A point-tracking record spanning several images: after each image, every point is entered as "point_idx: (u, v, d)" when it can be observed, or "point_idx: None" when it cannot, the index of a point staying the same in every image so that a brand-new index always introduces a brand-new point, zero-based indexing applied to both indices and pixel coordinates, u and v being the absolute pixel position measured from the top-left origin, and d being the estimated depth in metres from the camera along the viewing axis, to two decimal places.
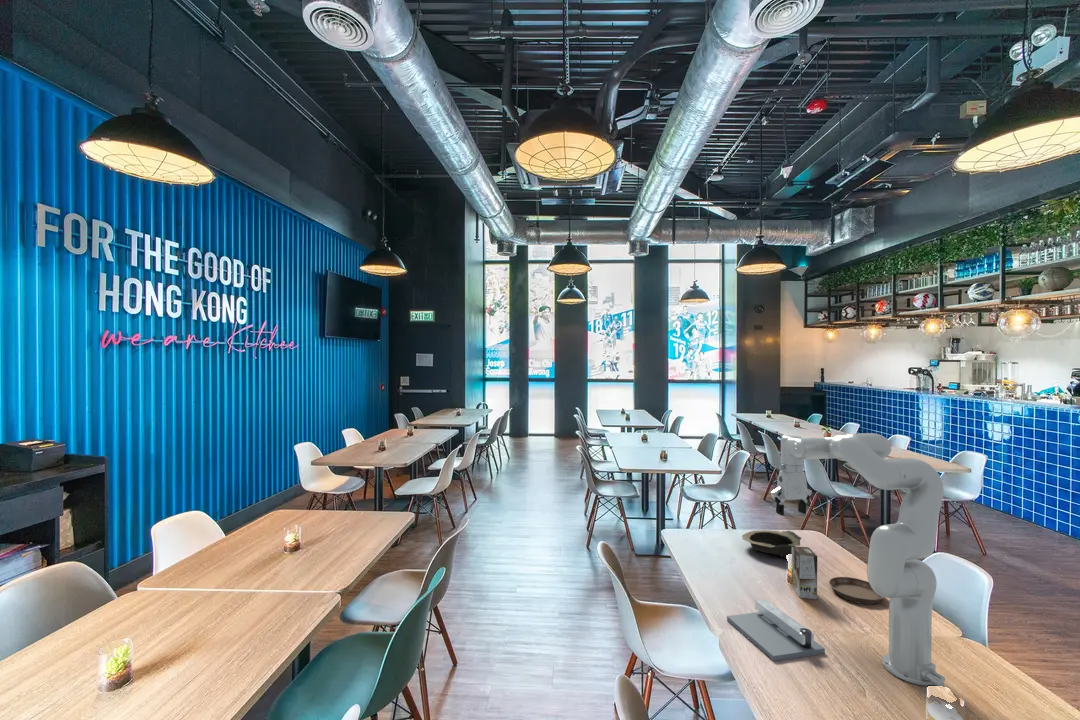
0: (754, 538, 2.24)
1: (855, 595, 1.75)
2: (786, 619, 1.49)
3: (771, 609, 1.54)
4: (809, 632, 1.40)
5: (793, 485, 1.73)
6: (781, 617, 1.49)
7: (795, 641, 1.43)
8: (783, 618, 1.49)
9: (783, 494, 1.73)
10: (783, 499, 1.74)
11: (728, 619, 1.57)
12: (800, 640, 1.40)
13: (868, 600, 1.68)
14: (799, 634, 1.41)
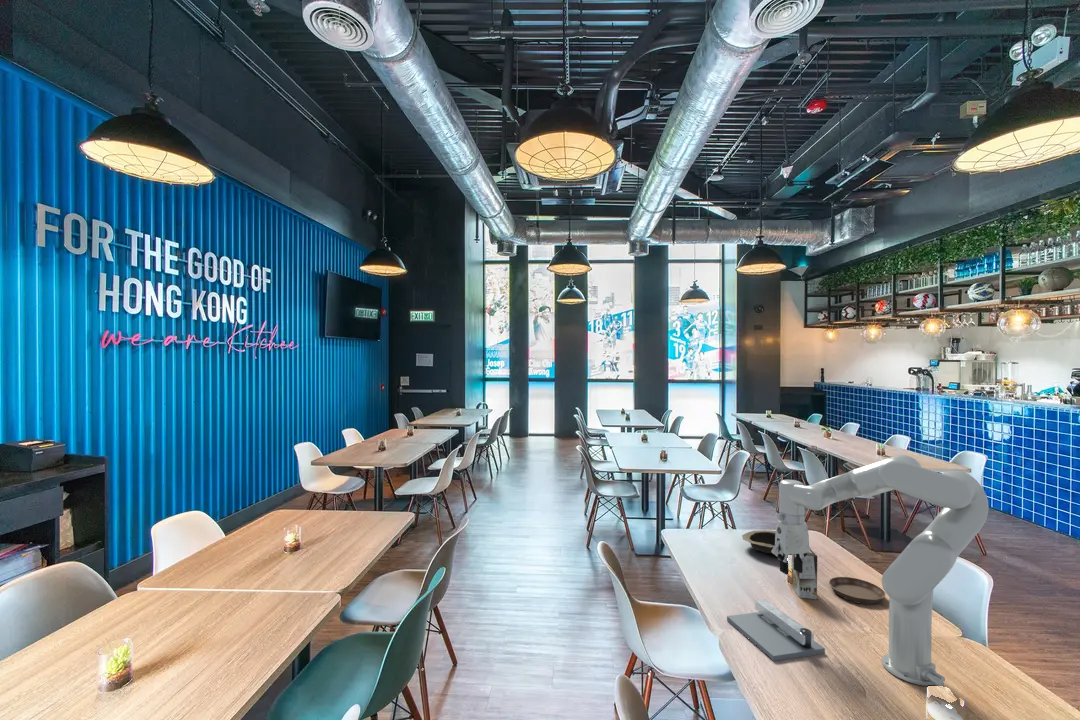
0: (754, 538, 2.24)
1: (855, 595, 1.75)
2: (786, 619, 1.49)
3: (771, 609, 1.54)
4: (809, 632, 1.40)
5: (793, 538, 1.53)
6: (781, 617, 1.49)
7: (795, 641, 1.43)
8: (783, 618, 1.49)
9: (782, 548, 1.53)
10: (786, 555, 1.54)
11: (728, 619, 1.57)
12: (800, 640, 1.40)
13: (868, 600, 1.68)
14: (799, 634, 1.41)
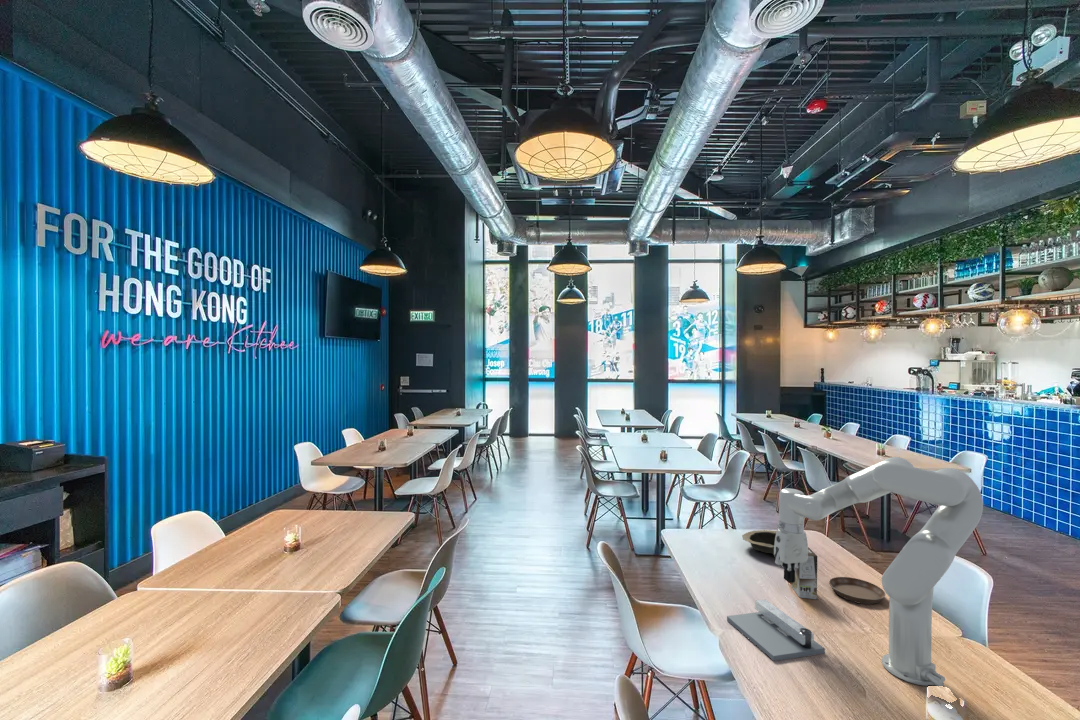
0: (754, 538, 2.24)
1: (855, 595, 1.75)
2: (786, 619, 1.49)
3: (771, 609, 1.54)
4: (809, 632, 1.40)
5: (792, 547, 1.53)
6: (781, 617, 1.49)
7: (795, 641, 1.43)
8: (783, 618, 1.49)
9: (781, 557, 1.54)
10: (788, 564, 1.55)
11: (728, 619, 1.57)
12: (800, 640, 1.40)
13: (868, 600, 1.68)
14: (799, 634, 1.41)
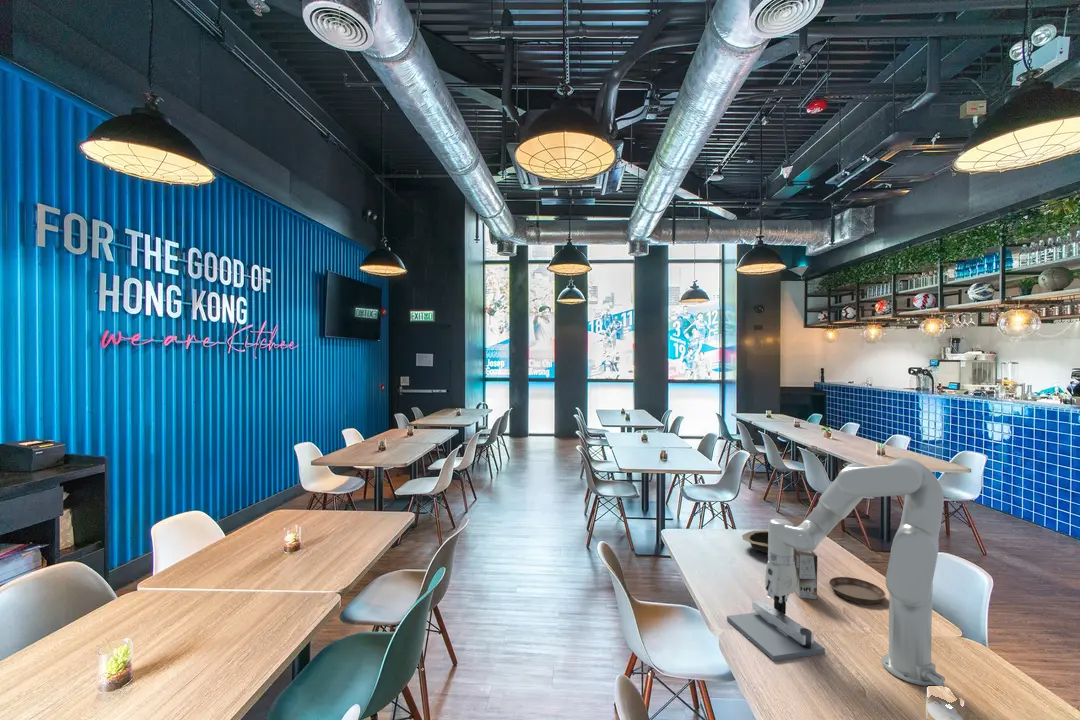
0: (754, 538, 2.24)
1: (855, 595, 1.75)
2: (785, 619, 1.48)
3: (769, 609, 1.54)
4: (809, 632, 1.40)
5: (784, 579, 1.52)
6: (780, 617, 1.49)
7: (795, 641, 1.43)
8: (781, 619, 1.48)
9: (774, 590, 1.52)
10: (780, 596, 1.54)
11: (728, 619, 1.57)
12: (800, 640, 1.40)
13: (868, 600, 1.68)
14: (799, 634, 1.41)
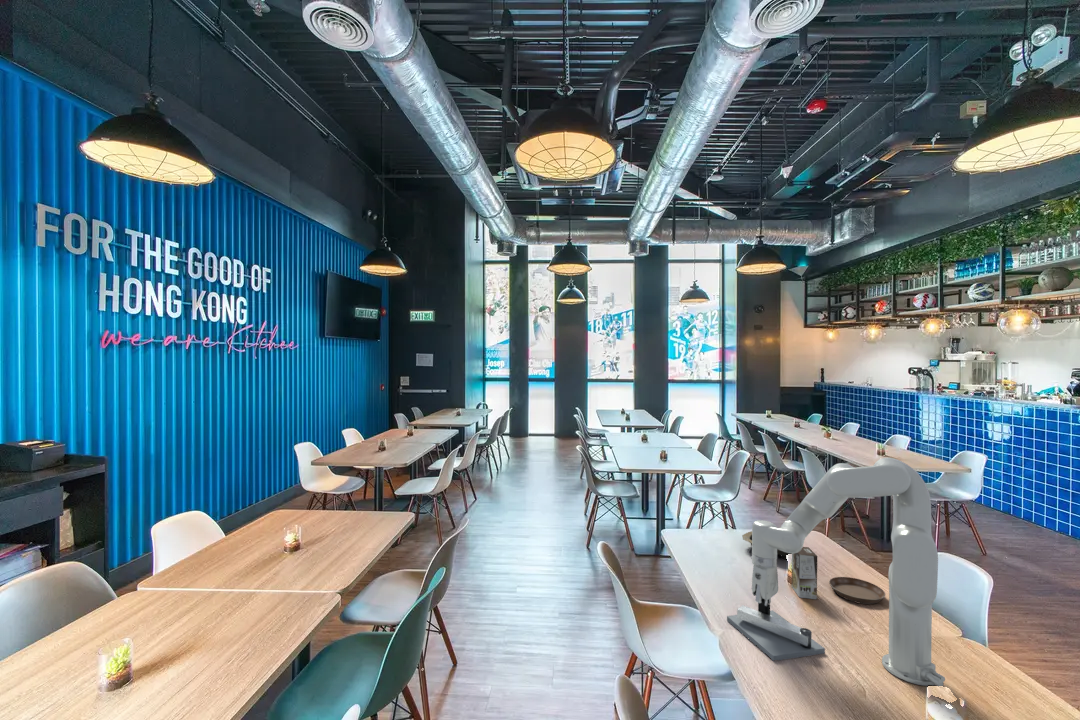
0: None
1: (855, 595, 1.75)
2: (778, 622, 1.47)
3: (758, 614, 1.51)
4: (810, 632, 1.40)
5: (771, 581, 1.50)
6: (773, 621, 1.47)
7: None
8: (776, 623, 1.46)
9: (763, 594, 1.49)
10: (766, 599, 1.51)
11: (728, 619, 1.57)
12: (804, 642, 1.39)
13: (868, 600, 1.68)
14: (802, 636, 1.40)
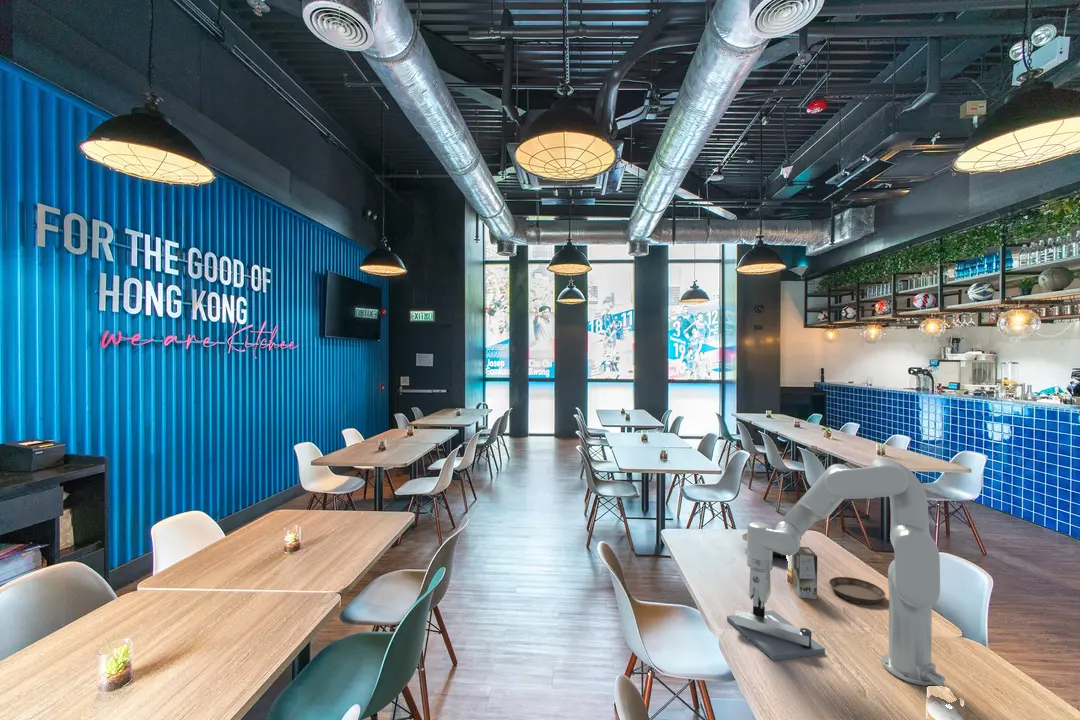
0: None
1: (855, 595, 1.75)
2: (777, 624, 1.45)
3: (755, 618, 1.48)
4: (810, 631, 1.41)
5: (767, 583, 1.49)
6: (772, 624, 1.45)
7: None
8: (775, 625, 1.45)
9: (762, 598, 1.47)
10: (762, 602, 1.50)
11: (728, 619, 1.57)
12: (805, 642, 1.39)
13: (868, 600, 1.68)
14: (804, 637, 1.40)
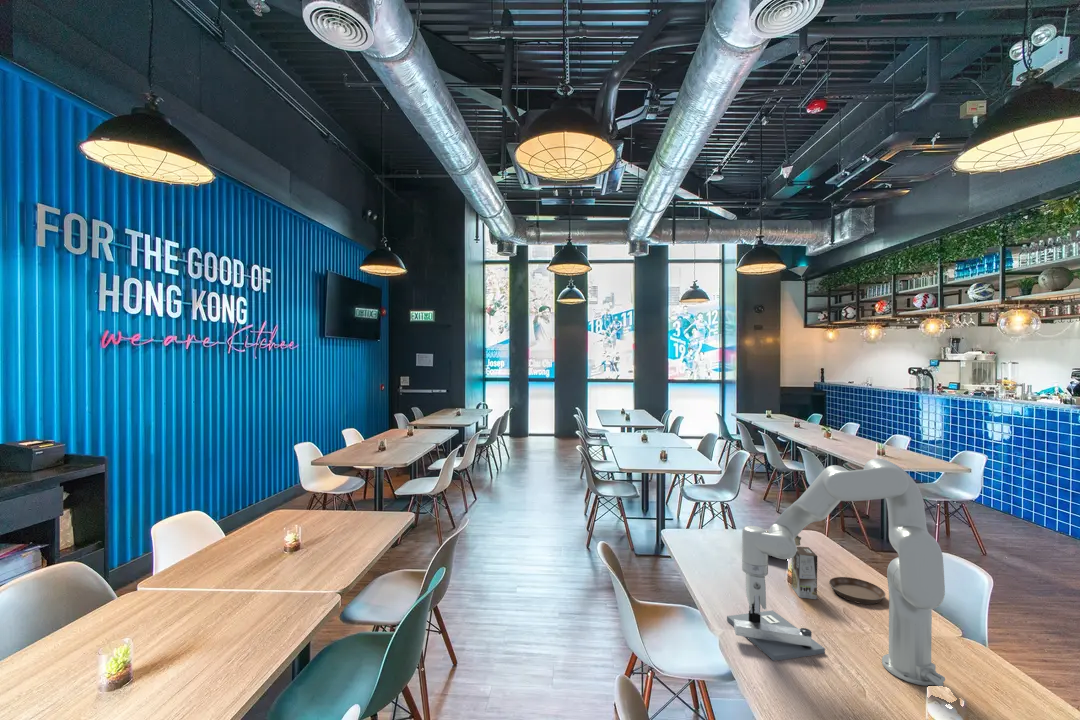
0: None
1: (855, 595, 1.75)
2: (777, 628, 1.43)
3: (756, 626, 1.44)
4: (809, 630, 1.41)
5: None
6: (774, 629, 1.42)
7: None
8: (777, 630, 1.42)
9: (763, 604, 1.43)
10: (759, 608, 1.46)
11: (728, 619, 1.57)
12: (808, 643, 1.39)
13: (868, 600, 1.68)
14: (806, 637, 1.39)
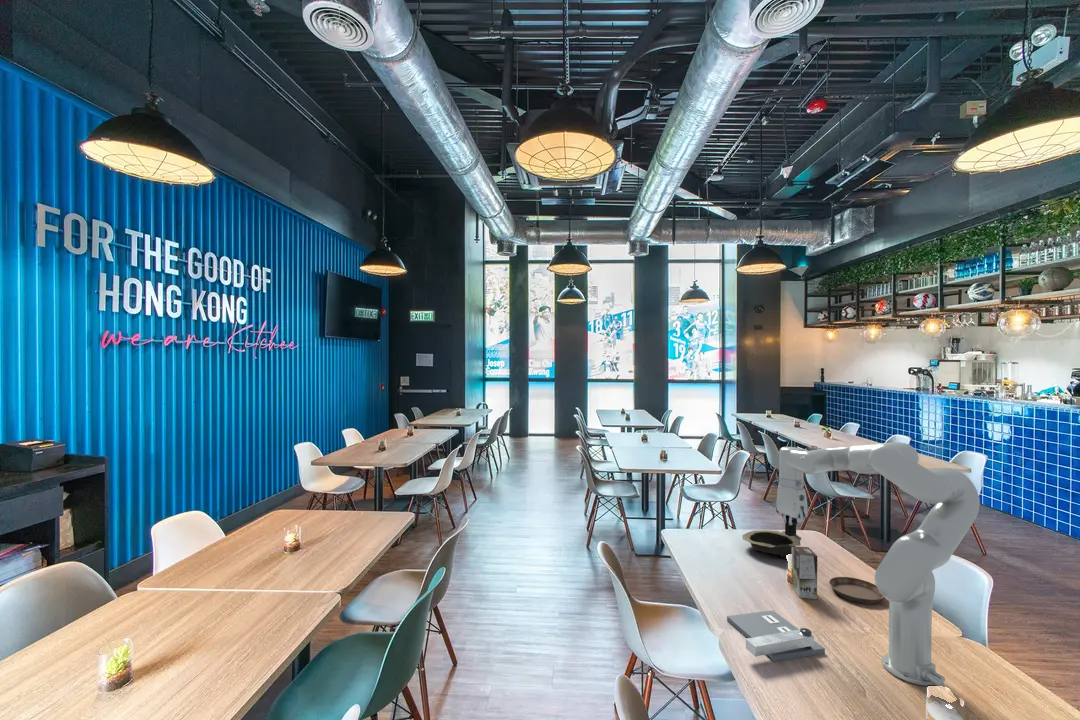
0: (754, 538, 2.24)
1: (855, 595, 1.75)
2: (785, 636, 1.39)
3: (769, 640, 1.37)
4: (807, 629, 1.42)
5: None
6: (784, 639, 1.38)
7: None
8: (786, 638, 1.38)
9: (806, 513, 1.59)
10: None
11: (728, 619, 1.57)
12: (811, 643, 1.39)
13: (868, 600, 1.68)
14: (810, 638, 1.39)
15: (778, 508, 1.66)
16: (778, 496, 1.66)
